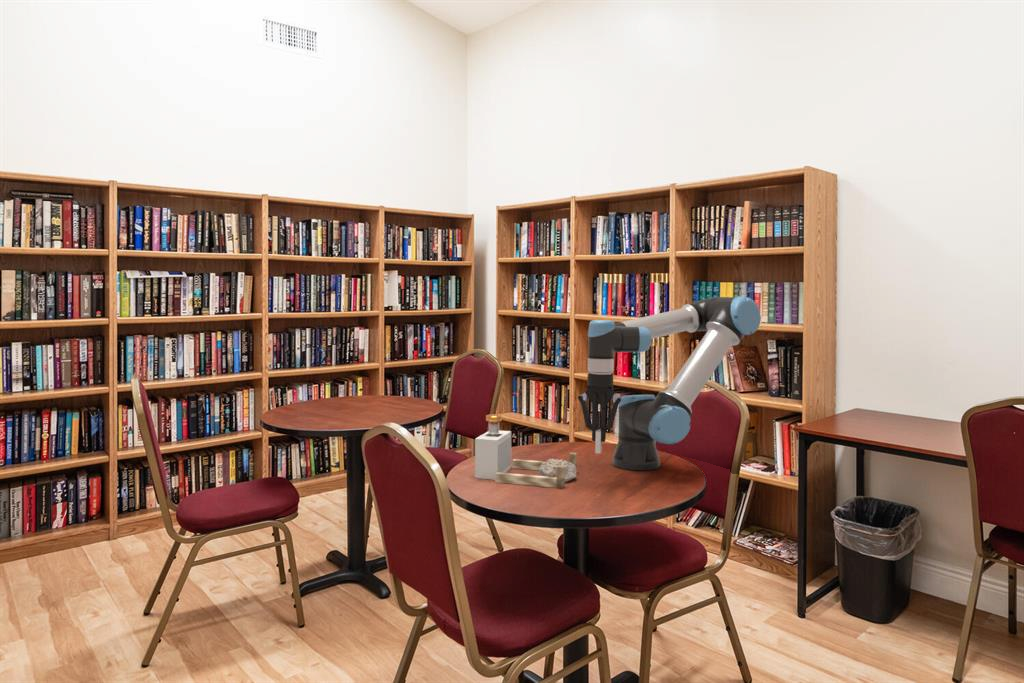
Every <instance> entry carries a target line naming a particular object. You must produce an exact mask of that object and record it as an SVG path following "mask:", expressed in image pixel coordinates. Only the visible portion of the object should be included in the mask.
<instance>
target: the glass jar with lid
mask: <svg viewBox="0 0 1024 683" xmlns="http://www.w3.org/2000/svg"><path fill="white" fill-rule="evenodd" d="M502 419H503V418H502V415H501V414H496V413H493V414H492V413H491V414H486V415H485V421H486V422H488V431H489V436H495V437H499V430H500V422H501V421H502Z"/></svg>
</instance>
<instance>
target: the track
mask: <svg viewBox="0 0 1024 683" xmlns="http://www.w3.org/2000/svg"><path fill="white" fill-rule="evenodd" d="M577 454H578V452H570V453H569V454H568V461H569V462H571V463H572V464H574V465H575V466H576V471H577V472H578V470H577V469H578V468H577V467H578V466H577V465H578V464H577V463H578V462H577V461H578V460H577V459H578V458H577V457H578V455H577ZM546 461H547V460H546ZM546 461H543V460H532V459H518V458H513V459H511V469H519V470H529V471H530V470H531V471H539V470H538V469H539V467H540V466H541V465H542V463H545V462H546ZM494 482H495V483H500V484H502V483H503V484H512V485H520V486H521V485H522V486H532V487H533V486H534V487H544V488H545V487H546V488H555V489H564V488H565V486H566V482H565V466H557V473H556V477H548V476H541V475H535V474H524V473H523V474H522V473H521V474H520V473H513V472H512V473H511V472H506V473H502V472H497V473H496V474H495V480H494Z"/></svg>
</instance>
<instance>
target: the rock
mask: <svg viewBox="0 0 1024 683" xmlns="http://www.w3.org/2000/svg"><path fill="white" fill-rule="evenodd" d="M557 466H565V483H567V482H570V481H572V480H573V479H575V478H576V477H577V474H578V470H577V471H576V466H575V465H574V464H572V463H571V462H569V460H568V461H567V460H565V459H563V458H562V459H558V458H557V459H554V458H548V459H547V460H546V462H545V463H542V465H541V466H540V467H539V469H538V470H537V474H538V475H540V476H548V477H556V473H557Z"/></svg>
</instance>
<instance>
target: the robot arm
mask: <svg viewBox="0 0 1024 683" xmlns="http://www.w3.org/2000/svg"><path fill="white" fill-rule="evenodd" d="M761 318H762V316H761V310H760V308H759V305H758V303H757V302H756V301H754V300H753V299H752V298H750V297H746V296H740V295H739V296H735V297H734V296H714V297H713V296H712V297H709V298H704V299H701V300H697V301H693V302H690V303H687V304H683V305H682V307H681V308H677V309H673V310H670V311H665V312H661V313H656V314H652V315H647V316H642V317H637V318H634V319H629V320H628V319H627V320H625V321H620V322H615V321H614V320H610V319H609V320H608V319H607V320H606V319H596V320H595V319H593V320H591V321H590V322H589V324H588V333H587V337H588V340H587V341H588V342H587V347H588V348H587V350H588V351H587V353H588V354H587V372H588V373H587V380H586V381H587V382H586V383H587V385H586V389H585V391H584V393H582V394H579V395H578V396H577V399H578V401H579V403H580V405H581V409H582V413H583V419H584V424H585V428H587V429H589V430H591V441H592V442H595V443H594V444H595V446H594V448H595V449H594V453H595V454H601V453H602V451H603V447H602V446H603V443H604V442H606V438H607V437H606V435H607V431H609V430H611V429H612V428H613V426H614V421H615V418H616V415H617V411H618V437H617V438H618V440H617V443H616V447H615V449H614V452H613V455H612V465H613V466H615V467H617V468H619V469H622V470H629V471H650V470H651V471H652V470H656V469H658V468H660V463H661V461H660V456H659V453H658V449H657V445H656V443H659V444H667V445H674V444H677V443H680V442H681V441H682V440H684V439H685V437H687V435H688V433H689V432H690V429H691V424H690V423H691V422H692V421H691V420H692V419H691V416H692V414H693V411H692V405H693V404H694V402H695V400H696V399H697V397H698V396H699V394H700V393H701V391H702V390H703V388H704V387H705V386H706V383H707V382H708V381H709V380H710V378H711V376H712V375H713V374H714V372H715V371H716V369H717V368H718V366H719V364H721V362H722V360H723V359H724V357H725V356H726V354H727V353H728V351H729V350H730V348H732V347H733V346H737V345H739V344H740V342H741V341H742V339H744V337H745V335H746V336H750V335H752V334H754V333H755V332H757V331H758V329H759V328H760V325H761ZM682 332H688V333H690V334H691V333H696V332H705V333H704V336H702V338H701V340H700V341H699V343H698V344H697V346H696V347H695V348H694V349H693V351H692V353H691V354H690V355H689V357H688V358H687V360H686V361H685V363H684V365H683V366H682V367H681V369H680V370H679V372H678V373H677V375H676V376H675V377H674V378H673V380H672V382H671V383H670V385H669V386H668V388H667V389H666V390H661V391H659V392H658V394H657V395H654V394H632V395H631V394H629V395H622V396H619V395H617V394H616V393H615V392H616V391H615V390H614V374H613V373H614V366H615V364H614V363H615V362H614V360H615V353H637V354H638V353H644V352H647V351H648V350H649V349H650V347H651V345H652V339H658V338H662V337H666V336H670V335H674V334H679V333H682ZM587 400H589V401H590V403H592V404H591V405H592V406H591V407H592V411H591V412H592V413H591V414H592V415H591V416H590V411H589V406H588V402H587ZM611 400H612V402H613V404H612V407H611V411H610V415H609V417H608V418H609V419H608V422H607V412H608V411H607V410H608V409H607V408H608V403H609V402H610V401H611ZM599 405H600V429H599V427H598V419H599V416H598V414H599ZM655 442H656V443H655Z"/></svg>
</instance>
